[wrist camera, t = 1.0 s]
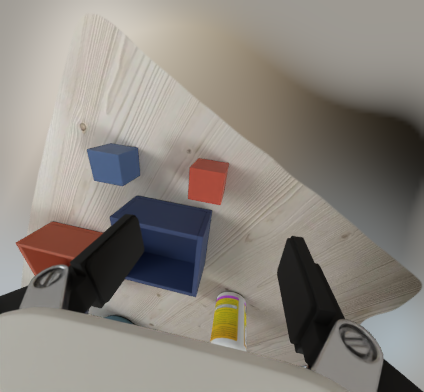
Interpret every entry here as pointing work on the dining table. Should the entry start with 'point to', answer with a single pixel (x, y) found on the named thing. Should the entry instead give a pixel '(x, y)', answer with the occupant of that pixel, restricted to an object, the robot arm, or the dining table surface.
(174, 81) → the dining table surface
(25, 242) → the red bin
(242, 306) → the supplement bottle
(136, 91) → the dining table surface
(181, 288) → the blue bin
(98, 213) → the dining table surface
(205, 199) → the red block
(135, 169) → the blue block
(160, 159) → the dining table surface
